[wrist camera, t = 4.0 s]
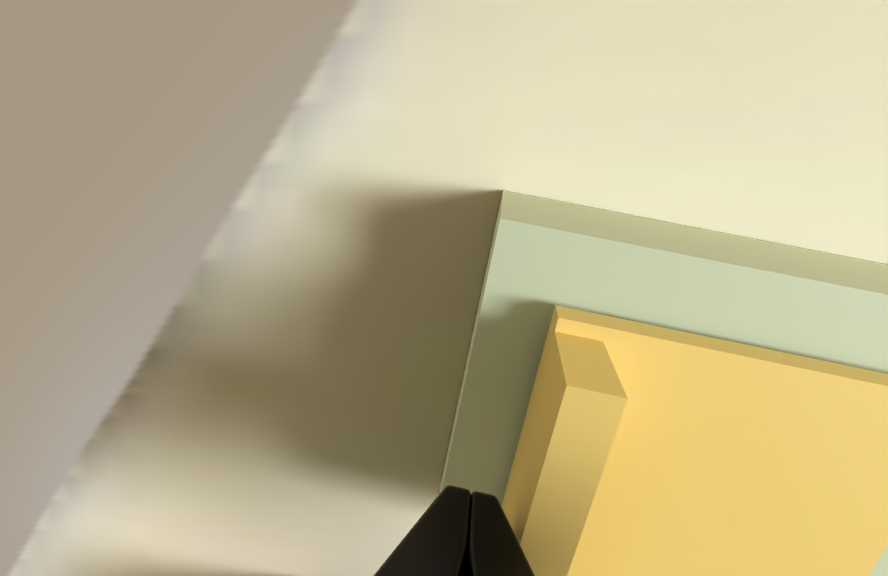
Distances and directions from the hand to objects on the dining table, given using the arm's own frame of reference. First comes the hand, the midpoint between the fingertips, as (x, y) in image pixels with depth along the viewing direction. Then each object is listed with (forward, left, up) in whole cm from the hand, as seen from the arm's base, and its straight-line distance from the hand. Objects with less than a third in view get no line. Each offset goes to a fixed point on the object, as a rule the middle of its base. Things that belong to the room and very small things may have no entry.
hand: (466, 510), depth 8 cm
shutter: (0, -4, -2) cm, 4 cm away
